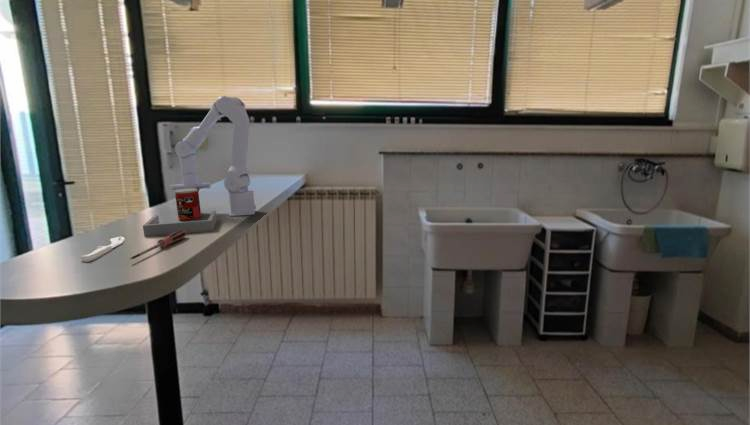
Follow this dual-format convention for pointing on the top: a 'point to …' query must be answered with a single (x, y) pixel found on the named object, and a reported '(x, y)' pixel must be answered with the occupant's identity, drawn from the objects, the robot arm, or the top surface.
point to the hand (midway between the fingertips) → (193, 207)
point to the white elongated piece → (103, 249)
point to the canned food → (188, 204)
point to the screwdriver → (165, 242)
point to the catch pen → (178, 226)
